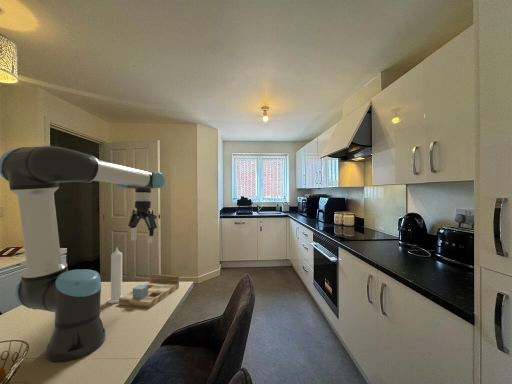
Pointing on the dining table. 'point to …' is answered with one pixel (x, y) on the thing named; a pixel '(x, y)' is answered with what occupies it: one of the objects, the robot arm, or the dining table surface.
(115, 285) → the candle
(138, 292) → the block
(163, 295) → the board
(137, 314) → the dining table surface
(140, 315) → the dining table surface
